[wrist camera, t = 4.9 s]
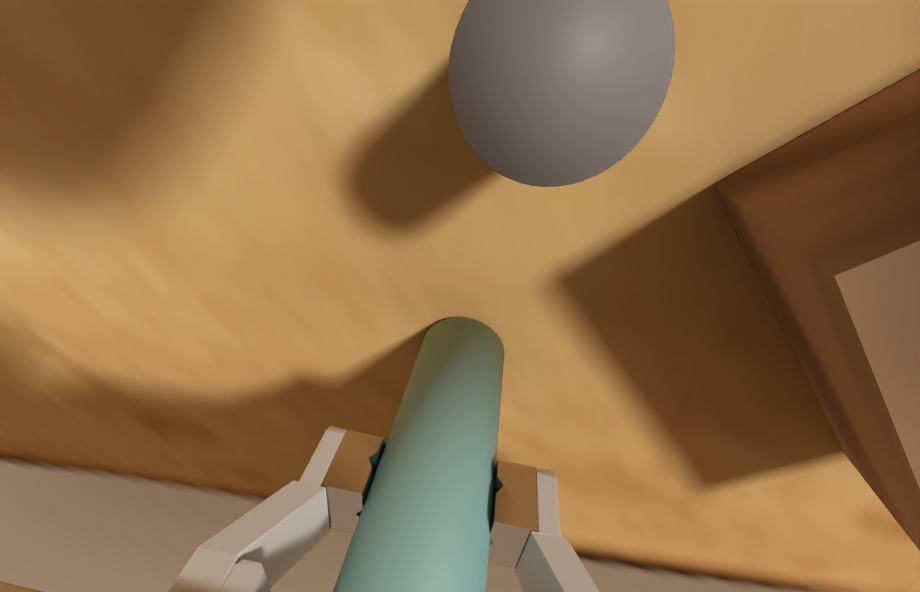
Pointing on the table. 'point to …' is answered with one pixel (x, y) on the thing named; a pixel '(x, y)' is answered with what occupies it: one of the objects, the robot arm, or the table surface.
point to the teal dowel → (434, 472)
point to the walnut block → (849, 277)
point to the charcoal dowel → (559, 83)
